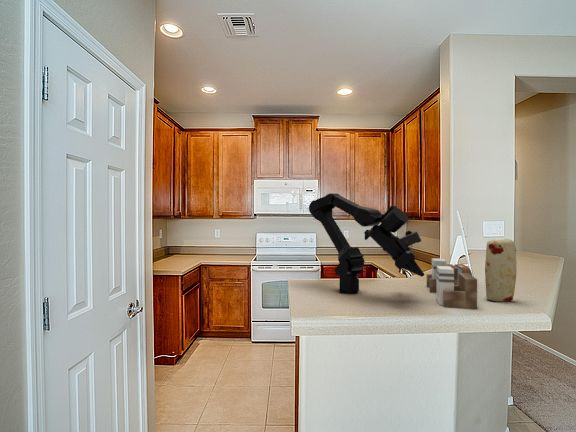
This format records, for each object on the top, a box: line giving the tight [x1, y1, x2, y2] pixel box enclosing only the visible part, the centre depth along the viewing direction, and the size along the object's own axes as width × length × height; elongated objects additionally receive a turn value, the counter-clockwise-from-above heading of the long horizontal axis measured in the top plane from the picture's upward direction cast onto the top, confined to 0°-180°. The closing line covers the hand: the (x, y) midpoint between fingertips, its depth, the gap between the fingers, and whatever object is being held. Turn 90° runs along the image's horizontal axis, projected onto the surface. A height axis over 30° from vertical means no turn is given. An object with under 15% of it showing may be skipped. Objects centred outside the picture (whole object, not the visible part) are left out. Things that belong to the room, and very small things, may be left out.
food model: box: [484, 238, 518, 303], centre depth 106 cm, size 10×7×20 cm
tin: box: [453, 263, 473, 276], centre depth 125 cm, size 15×3×8 cm, turn 168°
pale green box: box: [430, 257, 447, 279], centre depth 120 cm, size 4×6×11 cm
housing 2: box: [442, 273, 478, 310], centre depth 102 cm, size 9×10×9 cm
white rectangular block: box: [436, 266, 454, 306], centre depth 103 cm, size 4×6×11 cm
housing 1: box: [426, 263, 458, 294], centre depth 120 cm, size 9×10×9 cm
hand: (423, 275), depth 105 cm, fingers closed
